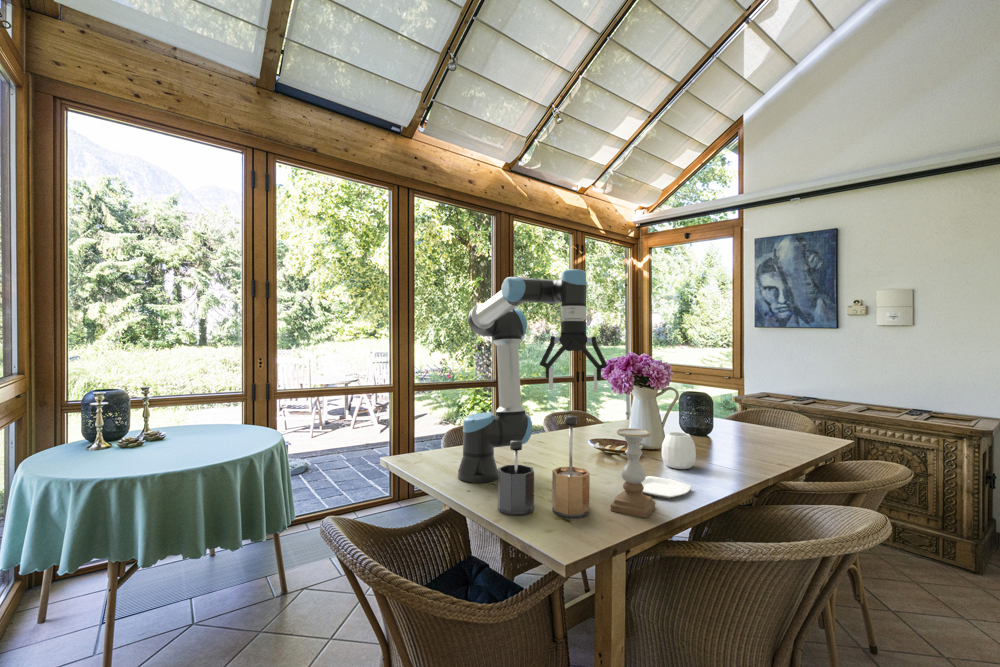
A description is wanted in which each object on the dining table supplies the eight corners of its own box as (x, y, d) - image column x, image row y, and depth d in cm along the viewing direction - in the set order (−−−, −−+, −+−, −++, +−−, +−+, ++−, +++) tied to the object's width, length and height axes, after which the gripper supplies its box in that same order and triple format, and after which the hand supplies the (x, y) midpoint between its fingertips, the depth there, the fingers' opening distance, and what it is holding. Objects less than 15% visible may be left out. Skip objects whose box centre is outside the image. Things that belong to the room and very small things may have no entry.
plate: (647, 478, 174) (647, 473, 174) (698, 491, 161) (698, 485, 161) (619, 490, 161) (619, 484, 161) (673, 505, 147) (673, 499, 147)
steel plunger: (497, 502, 141) (498, 441, 141) (513, 495, 148) (513, 437, 148) (518, 508, 136) (519, 445, 136) (533, 501, 143) (534, 440, 143)
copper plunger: (552, 478, 140) (553, 416, 140) (565, 472, 146) (566, 413, 146) (576, 483, 135) (576, 419, 135) (588, 477, 141) (589, 416, 141)
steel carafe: (490, 509, 141) (490, 470, 141) (516, 497, 152) (517, 461, 152) (519, 518, 134) (520, 477, 134) (545, 505, 145) (545, 467, 145)
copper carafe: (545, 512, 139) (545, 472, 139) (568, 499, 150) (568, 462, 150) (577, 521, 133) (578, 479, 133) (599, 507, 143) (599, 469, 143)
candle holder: (646, 518, 135) (647, 436, 135) (610, 511, 141) (610, 432, 141) (655, 507, 144) (656, 430, 145) (621, 500, 150) (621, 426, 150)
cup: (666, 460, 199) (666, 429, 199) (699, 466, 191) (699, 433, 191) (657, 467, 188) (657, 434, 188) (691, 473, 181) (691, 439, 181)
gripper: (530, 320, 141) (530, 389, 141) (614, 320, 134) (614, 393, 134) (536, 321, 148) (535, 387, 148) (616, 320, 141) (615, 390, 141)
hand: (572, 390), depth 141 cm, fingers open, 13 cm apart
